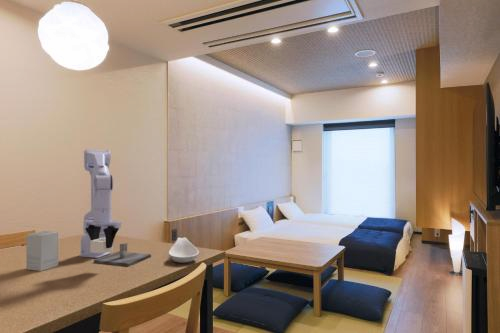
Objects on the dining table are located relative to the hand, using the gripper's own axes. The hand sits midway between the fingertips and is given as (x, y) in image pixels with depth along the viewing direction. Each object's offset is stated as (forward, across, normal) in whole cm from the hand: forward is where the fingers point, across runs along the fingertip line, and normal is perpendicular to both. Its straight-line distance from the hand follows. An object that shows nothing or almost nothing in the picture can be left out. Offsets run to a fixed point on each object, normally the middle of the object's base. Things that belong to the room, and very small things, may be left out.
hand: (102, 247), depth 118 cm
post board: (+8, -2, +14) cm, 16 cm away
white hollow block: (+1, 0, 0) cm, 1 cm away
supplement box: (+8, -23, -4) cm, 25 cm away
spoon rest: (+9, +18, +25) cm, 32 cm away
